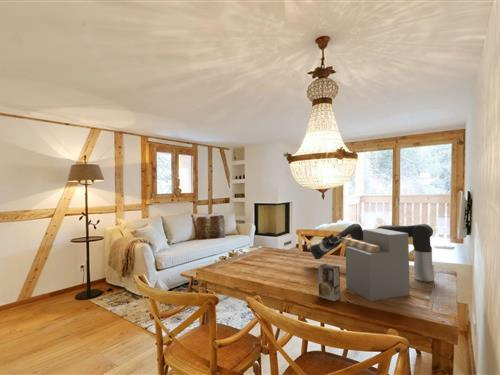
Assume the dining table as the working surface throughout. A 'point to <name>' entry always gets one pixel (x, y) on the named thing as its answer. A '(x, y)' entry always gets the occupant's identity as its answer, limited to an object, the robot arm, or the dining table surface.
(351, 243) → the birch bar
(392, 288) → the stepped plinth
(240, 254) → the dining table surface
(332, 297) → the coffee box
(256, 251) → the dining table surface
